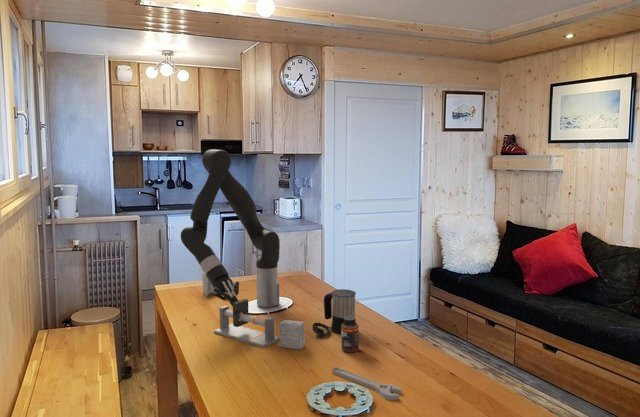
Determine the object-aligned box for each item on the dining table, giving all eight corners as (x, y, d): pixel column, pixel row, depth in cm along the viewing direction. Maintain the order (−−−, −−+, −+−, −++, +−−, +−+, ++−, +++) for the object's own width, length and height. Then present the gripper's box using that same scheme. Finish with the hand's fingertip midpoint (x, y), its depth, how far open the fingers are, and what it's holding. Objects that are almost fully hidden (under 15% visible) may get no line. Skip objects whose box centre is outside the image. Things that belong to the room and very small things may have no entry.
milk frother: (359, 328, 197) (359, 290, 195) (343, 342, 183) (343, 302, 181) (325, 322, 203) (325, 286, 201) (307, 336, 189) (307, 297, 187)
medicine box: (305, 345, 180) (305, 321, 179) (300, 350, 176) (300, 325, 175) (284, 342, 182) (284, 319, 181) (279, 347, 178) (279, 323, 177)
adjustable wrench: (329, 373, 159) (329, 368, 158) (344, 367, 163) (344, 362, 163) (392, 402, 140) (392, 396, 140) (406, 395, 144) (407, 389, 144)
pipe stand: (213, 332, 192) (213, 309, 191) (231, 325, 200) (230, 303, 198) (263, 347, 178) (263, 322, 177) (280, 339, 185) (279, 315, 184)
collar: (233, 326, 188) (232, 302, 187) (244, 321, 193) (244, 298, 192) (237, 327, 187) (236, 303, 186) (248, 322, 191) (248, 299, 190)
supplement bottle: (358, 346, 178) (359, 315, 177) (358, 353, 173) (358, 321, 171) (341, 346, 179) (341, 314, 178) (340, 352, 173) (340, 320, 172)
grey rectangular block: (206, 296, 239) (205, 275, 238) (197, 295, 242) (196, 274, 240) (224, 289, 252) (223, 269, 250) (215, 287, 254) (215, 268, 253)
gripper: (205, 267, 188) (229, 305, 183) (231, 260, 199) (255, 296, 193) (196, 279, 192) (219, 317, 186) (222, 272, 203) (245, 307, 197)
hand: (237, 306), depth 190 cm, fingers closed
